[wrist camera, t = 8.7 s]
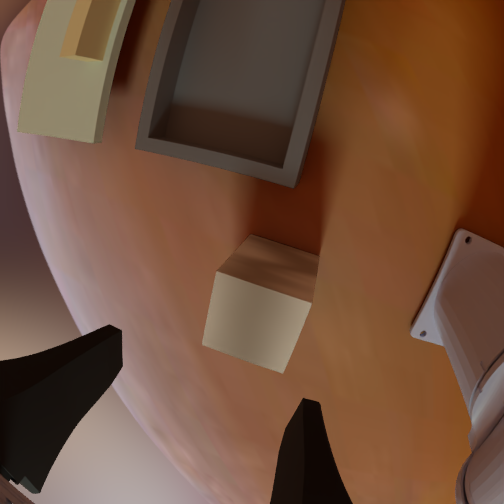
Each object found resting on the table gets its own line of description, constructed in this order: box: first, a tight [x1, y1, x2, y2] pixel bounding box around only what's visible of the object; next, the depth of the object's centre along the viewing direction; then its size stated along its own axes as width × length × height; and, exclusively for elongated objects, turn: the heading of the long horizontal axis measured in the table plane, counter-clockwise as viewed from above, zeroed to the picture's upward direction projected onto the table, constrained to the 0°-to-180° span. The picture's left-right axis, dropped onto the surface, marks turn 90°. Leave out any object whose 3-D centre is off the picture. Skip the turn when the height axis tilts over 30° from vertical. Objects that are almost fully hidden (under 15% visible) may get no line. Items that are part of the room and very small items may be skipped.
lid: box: [17, 0, 136, 143], centre depth 13 cm, size 10×17×3 cm, turn 167°
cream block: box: [202, 234, 320, 373], centre depth 17 cm, size 4×4×6 cm
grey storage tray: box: [135, 0, 345, 189], centre depth 14 cm, size 10×17×2 cm, turn 167°
